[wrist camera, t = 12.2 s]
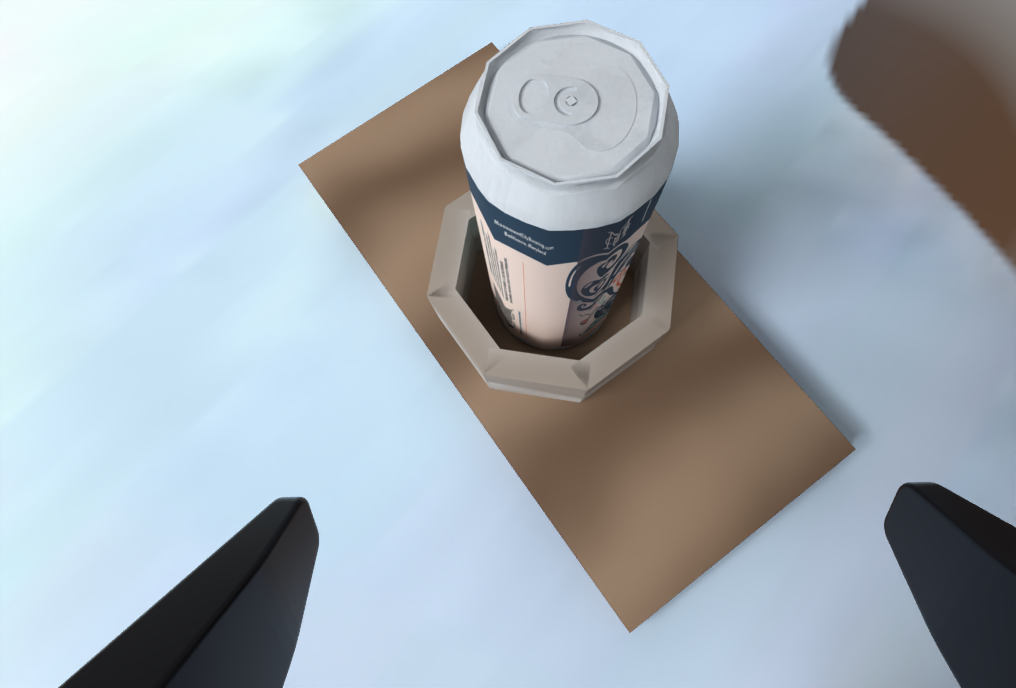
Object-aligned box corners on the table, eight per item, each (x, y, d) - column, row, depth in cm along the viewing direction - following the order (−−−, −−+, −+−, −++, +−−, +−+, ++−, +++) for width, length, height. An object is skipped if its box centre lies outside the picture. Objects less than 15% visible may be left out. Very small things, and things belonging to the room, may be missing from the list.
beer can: (599, 363, 21) (676, 224, 10) (484, 342, 22) (429, 186, 10) (617, 255, 23) (704, 17, 11) (507, 237, 23) (480, -10, 11)
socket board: (840, 450, 21) (909, 444, 17) (624, 625, 20) (647, 660, 16) (493, 58, 27) (486, -14, 23) (307, 176, 25) (266, 122, 22)
